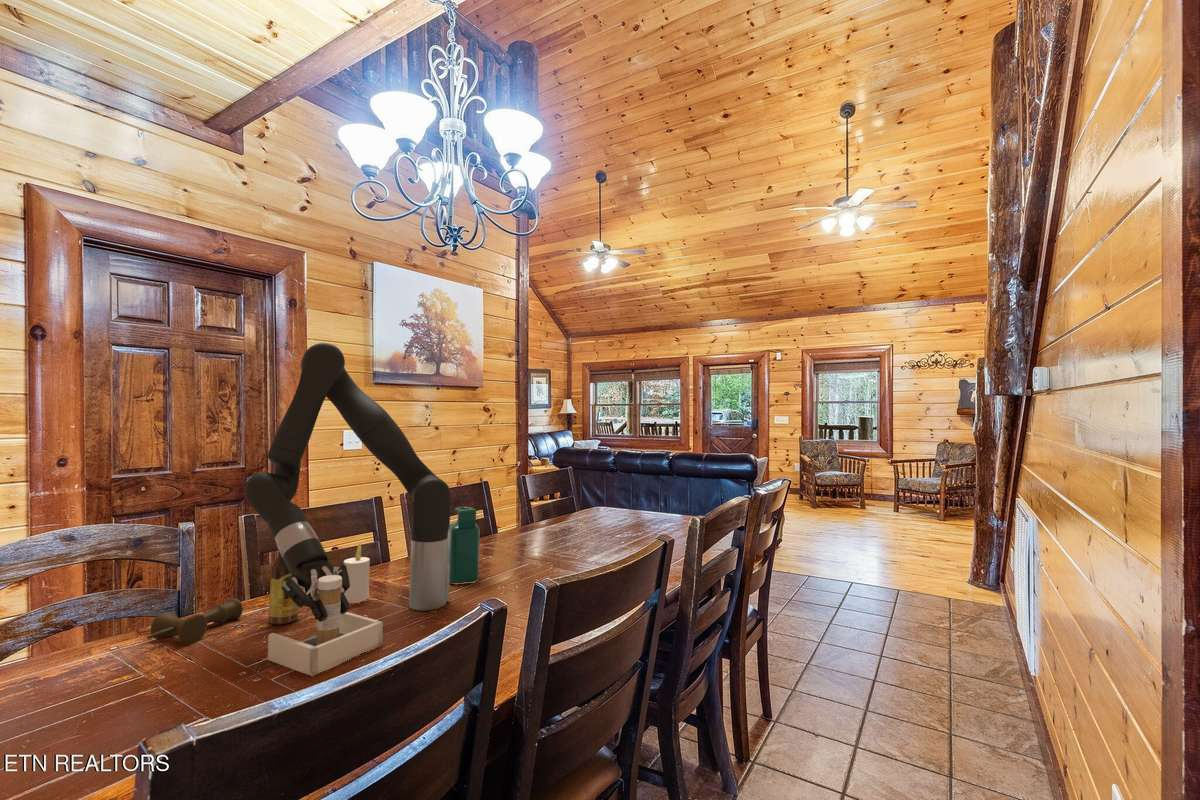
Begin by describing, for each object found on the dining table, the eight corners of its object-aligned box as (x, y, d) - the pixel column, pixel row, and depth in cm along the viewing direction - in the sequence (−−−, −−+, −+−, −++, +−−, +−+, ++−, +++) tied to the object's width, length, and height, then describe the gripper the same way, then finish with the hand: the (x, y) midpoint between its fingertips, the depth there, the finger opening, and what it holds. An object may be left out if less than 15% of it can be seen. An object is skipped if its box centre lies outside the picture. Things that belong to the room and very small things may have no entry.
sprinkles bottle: (315, 640, 113) (317, 575, 113) (339, 636, 115) (341, 573, 115) (315, 649, 109) (317, 582, 109) (340, 645, 111) (342, 579, 111)
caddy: (338, 632, 122) (339, 609, 122) (382, 645, 116) (382, 621, 116) (267, 659, 108) (268, 634, 108) (312, 676, 101) (313, 649, 102)
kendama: (251, 622, 128) (163, 655, 109) (220, 618, 131) (129, 650, 112) (252, 597, 129) (165, 625, 110) (221, 593, 131) (130, 620, 112)
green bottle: (445, 578, 164) (447, 505, 164) (473, 575, 167) (475, 504, 168) (451, 587, 155) (453, 510, 156) (480, 584, 158) (482, 509, 159)
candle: (336, 602, 141) (338, 544, 142) (356, 594, 147) (357, 539, 148) (354, 605, 139) (356, 547, 139) (373, 598, 145) (375, 542, 145)
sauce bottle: (284, 627, 124) (287, 540, 125) (261, 624, 126) (264, 538, 126) (305, 617, 131) (308, 534, 131) (283, 614, 132) (286, 533, 133)
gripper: (276, 543, 109) (311, 615, 103) (338, 531, 122) (373, 594, 116) (259, 566, 112) (293, 637, 106) (322, 551, 124) (355, 615, 118)
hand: (335, 614), depth 111 cm, fingers closed on sprinkles bottle, 4 cm apart
